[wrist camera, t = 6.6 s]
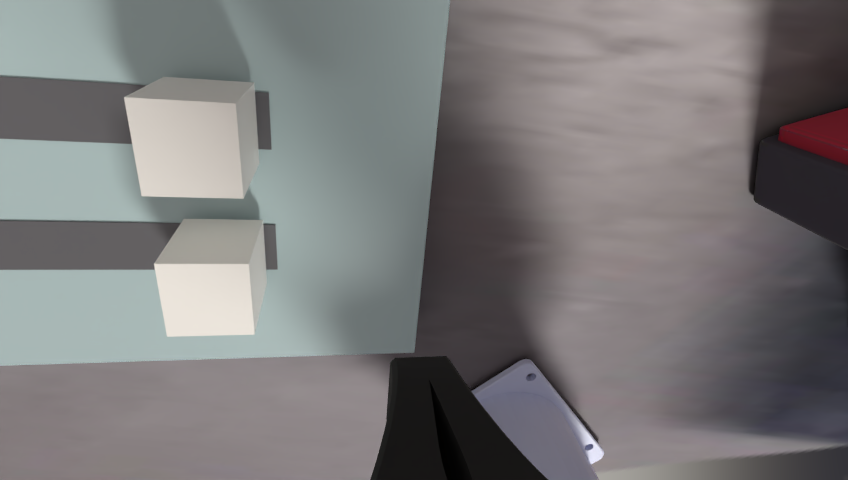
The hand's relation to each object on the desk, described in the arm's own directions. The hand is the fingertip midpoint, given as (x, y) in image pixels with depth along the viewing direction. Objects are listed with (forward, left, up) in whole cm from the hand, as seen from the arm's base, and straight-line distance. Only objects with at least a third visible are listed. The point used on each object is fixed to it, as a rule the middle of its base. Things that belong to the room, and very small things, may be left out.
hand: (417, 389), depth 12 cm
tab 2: (+4, +4, -7) cm, 9 cm away
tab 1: (+7, +1, -7) cm, 10 cm away
